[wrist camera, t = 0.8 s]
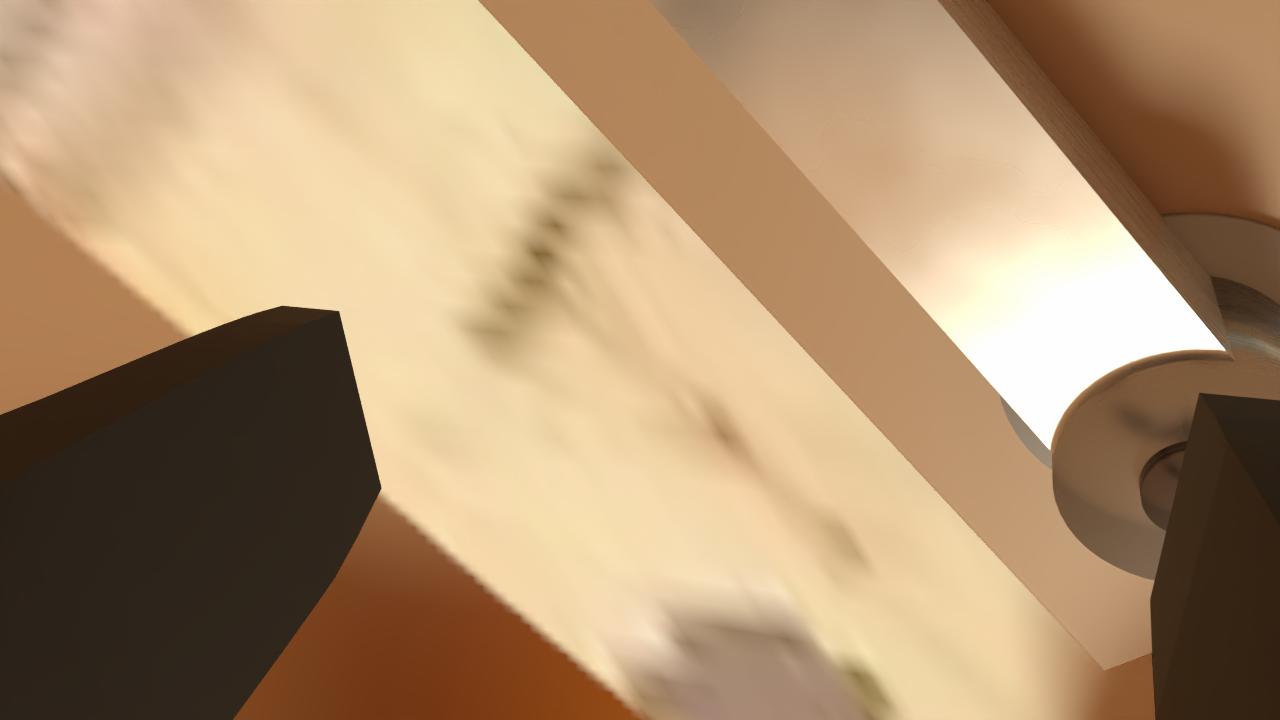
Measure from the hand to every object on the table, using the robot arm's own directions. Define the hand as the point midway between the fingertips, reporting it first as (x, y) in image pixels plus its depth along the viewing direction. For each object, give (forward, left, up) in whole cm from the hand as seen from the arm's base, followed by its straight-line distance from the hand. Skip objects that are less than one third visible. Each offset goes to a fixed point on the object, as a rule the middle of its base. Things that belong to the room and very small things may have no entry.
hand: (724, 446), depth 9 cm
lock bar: (-1, -1, -8) cm, 8 cm away
